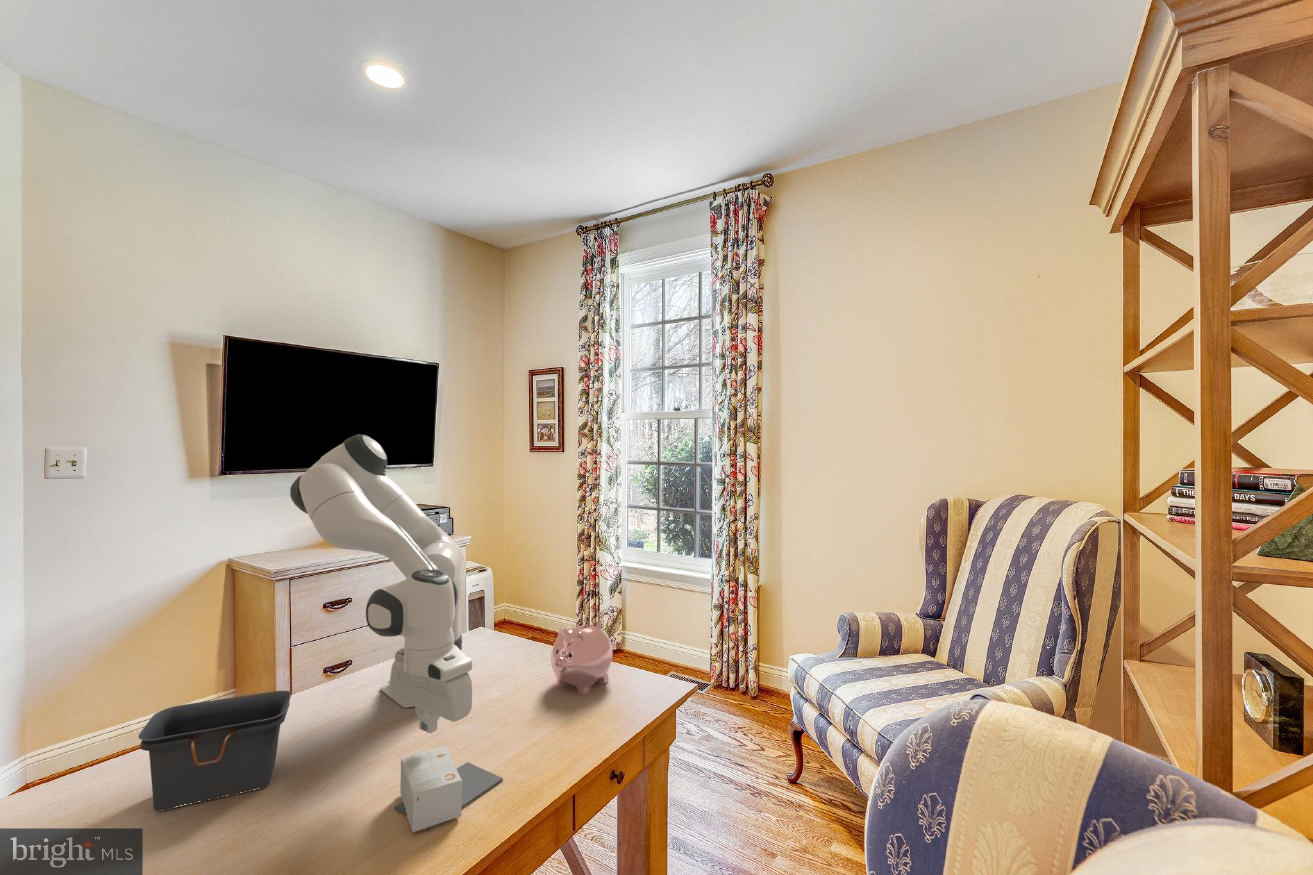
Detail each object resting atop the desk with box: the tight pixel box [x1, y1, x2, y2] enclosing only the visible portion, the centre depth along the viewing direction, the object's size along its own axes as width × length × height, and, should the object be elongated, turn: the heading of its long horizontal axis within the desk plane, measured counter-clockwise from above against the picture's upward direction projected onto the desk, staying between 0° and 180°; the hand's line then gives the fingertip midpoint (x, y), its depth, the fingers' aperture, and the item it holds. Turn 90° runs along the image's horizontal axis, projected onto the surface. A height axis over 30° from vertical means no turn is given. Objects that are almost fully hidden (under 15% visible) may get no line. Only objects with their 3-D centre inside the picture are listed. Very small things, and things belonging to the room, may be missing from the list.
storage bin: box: [137, 690, 292, 812], centre depth 101 cm, size 21×16×14 cm
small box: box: [399, 745, 462, 834], centre depth 98 cm, size 8×6×13 cm
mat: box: [393, 761, 504, 831], centre depth 101 cm, size 10×16×1 cm, turn 149°
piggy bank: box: [550, 621, 613, 696], centre depth 148 cm, size 15×18×16 cm
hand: (428, 730), depth 104 cm, fingers closed
